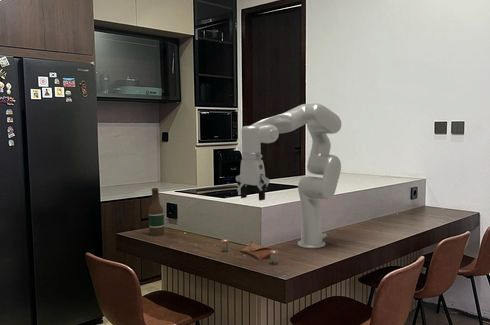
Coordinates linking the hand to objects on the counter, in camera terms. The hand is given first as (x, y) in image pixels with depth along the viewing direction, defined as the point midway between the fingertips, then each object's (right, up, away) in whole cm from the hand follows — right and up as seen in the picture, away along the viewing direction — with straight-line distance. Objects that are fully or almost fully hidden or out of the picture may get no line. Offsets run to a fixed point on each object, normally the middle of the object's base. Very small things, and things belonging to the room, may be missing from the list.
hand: (252, 198), depth 194 cm
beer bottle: (-49, -23, +53) cm, 76 cm away
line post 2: (+9, -26, 0) cm, 28 cm away
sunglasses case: (+2, -26, +14) cm, 29 cm away
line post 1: (-12, -25, +19) cm, 34 cm away
